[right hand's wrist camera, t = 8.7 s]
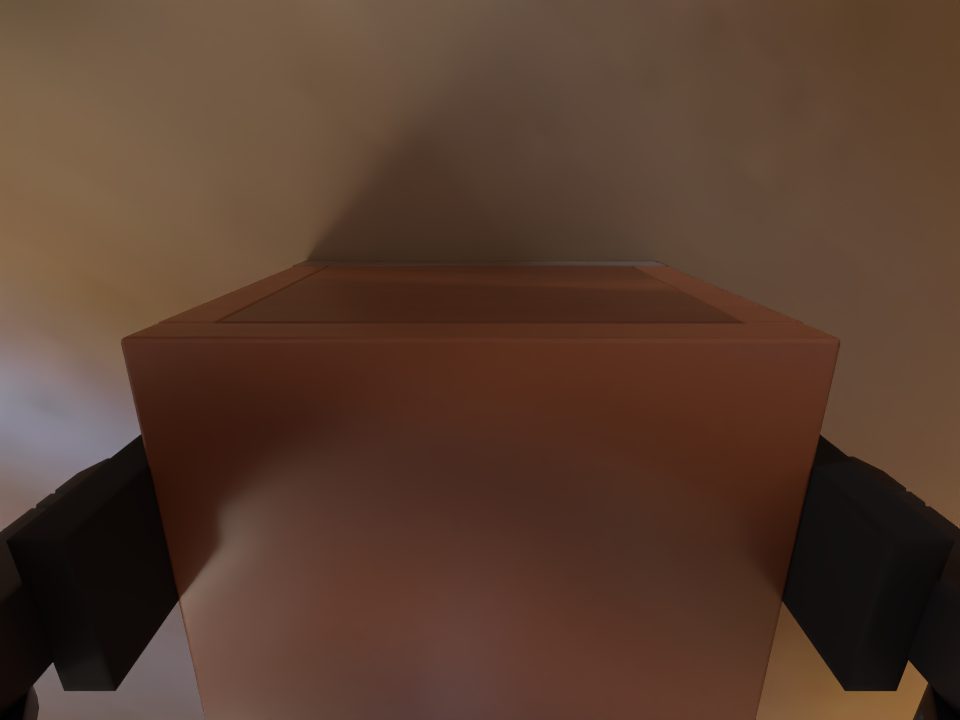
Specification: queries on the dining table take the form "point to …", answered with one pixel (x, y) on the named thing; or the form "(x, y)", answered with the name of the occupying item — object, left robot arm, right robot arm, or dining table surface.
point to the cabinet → (480, 489)
